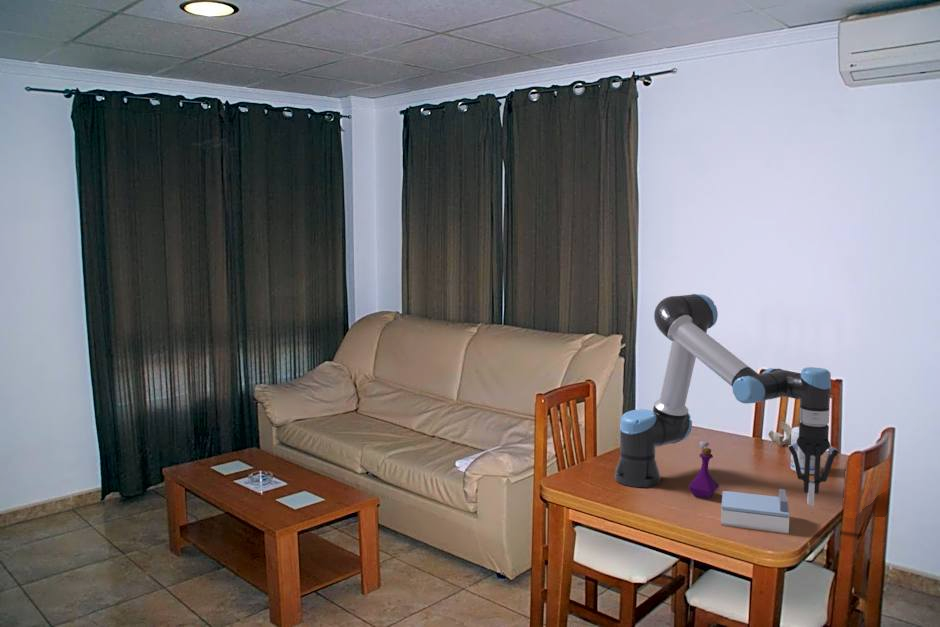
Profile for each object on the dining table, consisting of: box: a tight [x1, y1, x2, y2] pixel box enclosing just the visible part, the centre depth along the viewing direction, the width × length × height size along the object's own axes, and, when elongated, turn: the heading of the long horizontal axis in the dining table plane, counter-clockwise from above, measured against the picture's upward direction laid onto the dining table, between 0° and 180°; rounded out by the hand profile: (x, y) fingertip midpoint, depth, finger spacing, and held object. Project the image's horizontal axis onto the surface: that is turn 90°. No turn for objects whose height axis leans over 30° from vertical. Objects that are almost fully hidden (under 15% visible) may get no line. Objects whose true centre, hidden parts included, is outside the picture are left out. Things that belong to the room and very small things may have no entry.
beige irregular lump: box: [768, 421, 792, 447], centre depth 283 cm, size 9×6×10 cm
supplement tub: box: [790, 426, 822, 475], centre depth 252 cm, size 10×10×15 cm
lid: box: [720, 488, 790, 518], centre depth 210 cm, size 18×13×4 cm
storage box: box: [720, 508, 790, 534], centre depth 211 cm, size 18×13×4 cm
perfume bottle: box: [687, 441, 720, 500], centre depth 230 cm, size 8×8×18 cm
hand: (810, 503), depth 205 cm, fingers closed
